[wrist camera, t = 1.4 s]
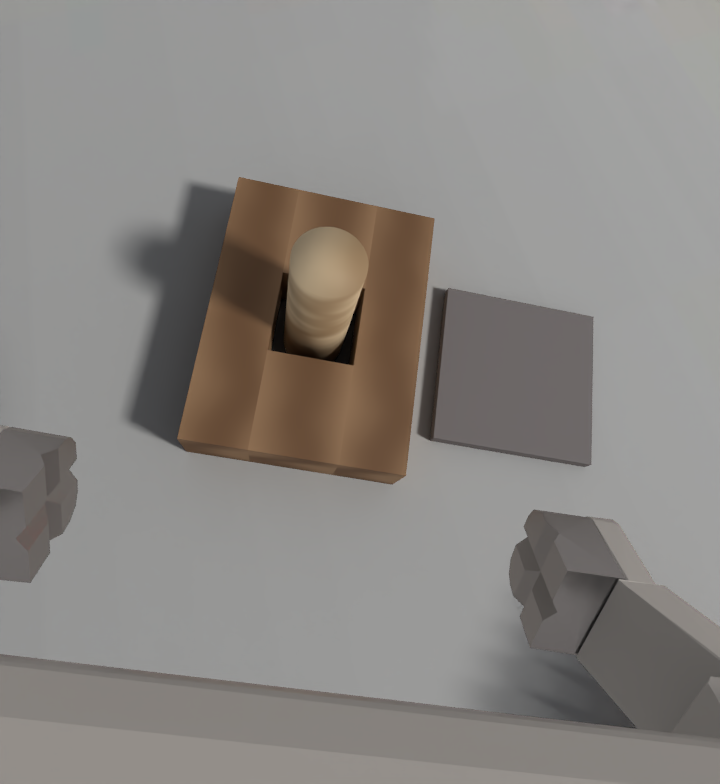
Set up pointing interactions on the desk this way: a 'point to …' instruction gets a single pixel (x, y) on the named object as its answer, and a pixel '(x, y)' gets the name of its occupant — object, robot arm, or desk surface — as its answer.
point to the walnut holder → (303, 374)
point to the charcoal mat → (514, 379)
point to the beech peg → (323, 291)
